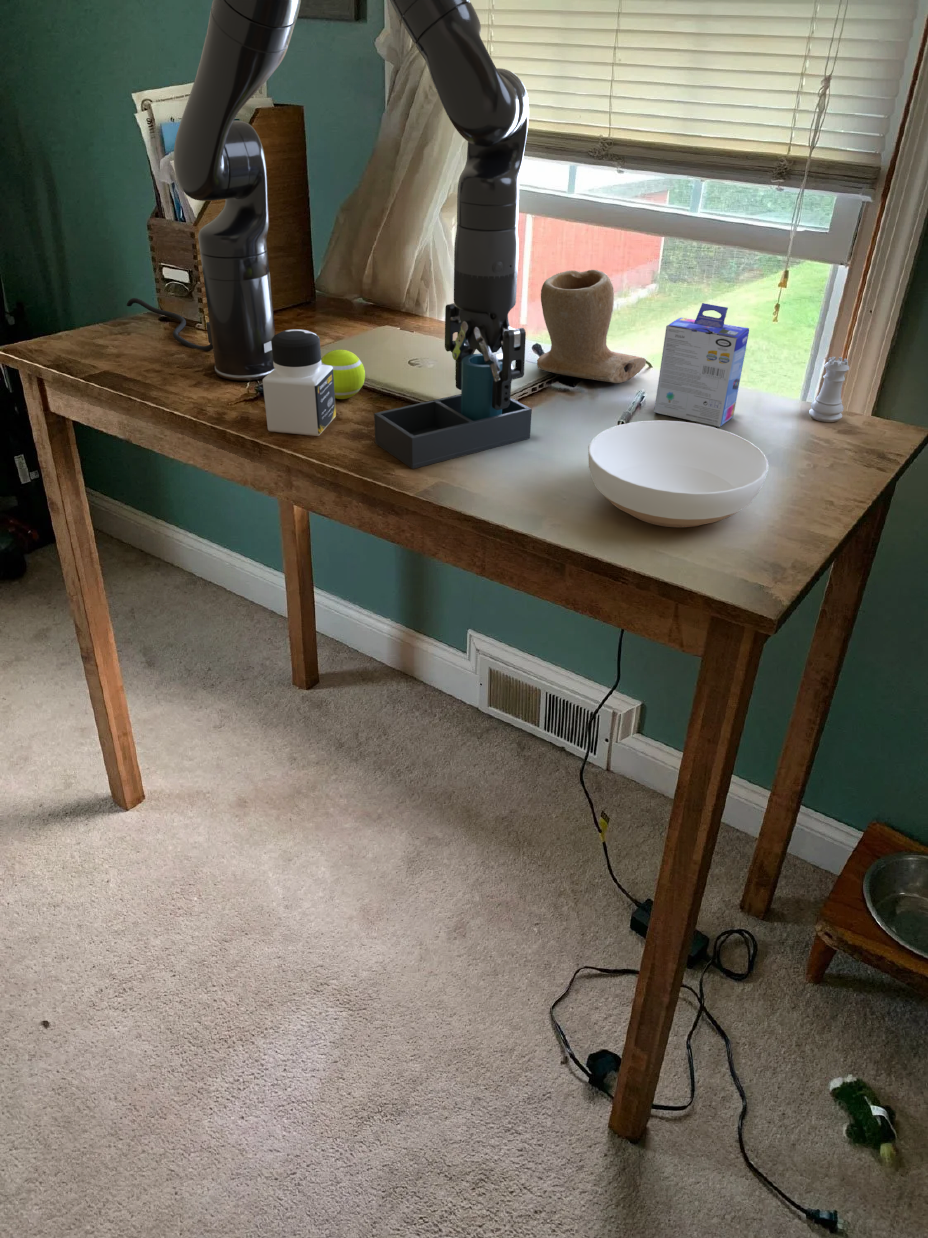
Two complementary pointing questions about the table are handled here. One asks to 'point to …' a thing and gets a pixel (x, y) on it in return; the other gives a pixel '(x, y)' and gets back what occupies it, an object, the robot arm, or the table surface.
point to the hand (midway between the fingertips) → (481, 397)
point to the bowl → (676, 471)
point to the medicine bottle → (298, 385)
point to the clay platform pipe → (583, 328)
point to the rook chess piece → (830, 392)
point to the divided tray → (446, 430)
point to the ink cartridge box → (701, 368)
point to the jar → (477, 388)
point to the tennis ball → (345, 372)
